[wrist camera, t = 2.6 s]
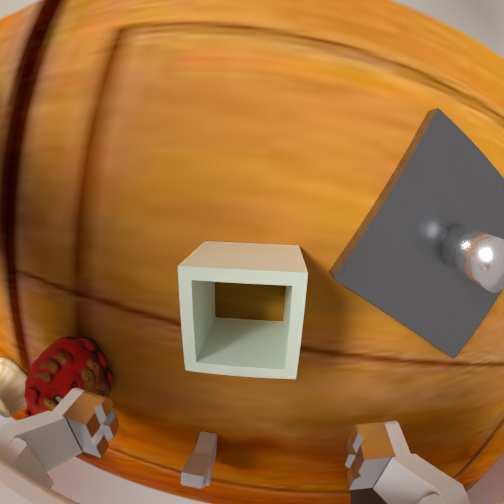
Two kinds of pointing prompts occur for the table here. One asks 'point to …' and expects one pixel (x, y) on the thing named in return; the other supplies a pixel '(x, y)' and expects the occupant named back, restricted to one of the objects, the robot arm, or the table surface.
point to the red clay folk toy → (66, 374)
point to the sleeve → (241, 330)
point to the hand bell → (11, 388)
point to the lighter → (200, 462)
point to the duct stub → (433, 239)
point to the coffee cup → (366, 496)
